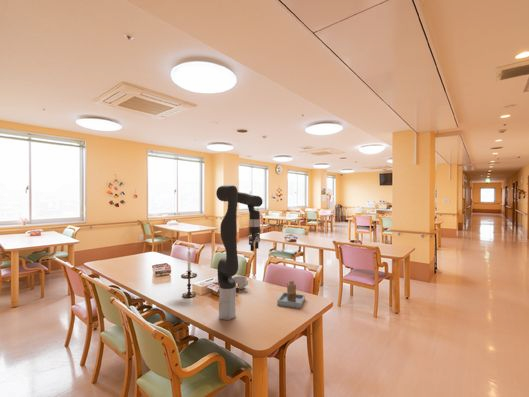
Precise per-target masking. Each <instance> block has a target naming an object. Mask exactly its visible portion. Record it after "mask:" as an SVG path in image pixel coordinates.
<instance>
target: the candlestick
mask: <svg viewBox="0 0 529 397" xmlns="http://www.w3.org/2000/svg"><path fill="white" fill-rule="evenodd" d="M187 248H188V251H187V270H186V272H185V273H182V274H181V275H180V278H181V279H184V280H187V284H186V286H187V291H186V292H184V293H183V294H182V296H181V297H182V298H184V299H192V298H195V297H196V292H194V291H191V288H192V287H191V286H192V283H191V279H195V278H197V277H198V274H197V272H192V271H193V270H191V261H192V260H191V250H190V246H188V247H187Z"/></svg>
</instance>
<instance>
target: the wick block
mask: <svg viewBox="0 0 529 397" xmlns="http://www.w3.org/2000/svg"><path fill="white" fill-rule="evenodd" d="M286 284H287V285H286V293H287V300H288V301H290V302H296V294H297V285H296V283H295V281H294V280H289V281H288V282H287V283H286Z"/></svg>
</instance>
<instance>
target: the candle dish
mask: <svg viewBox="0 0 529 397" xmlns="http://www.w3.org/2000/svg"><path fill="white" fill-rule="evenodd" d="M276 301H277V303H276V304H277V306H282V307H290V308H295V307H296V308H297V309H301V308H302V307H303V304H304V302H305V301H306V295H305V294H300V293H296V302H290V301H288V300H287V292H285V291H284V292H282V294H281V295H280V296H279V297H278V298H277V300H276Z"/></svg>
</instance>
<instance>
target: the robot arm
mask: <svg viewBox="0 0 529 397" xmlns="http://www.w3.org/2000/svg"><path fill="white" fill-rule="evenodd" d="M216 197H217V200H219V201H220V202H227V210H226V213H225V215H224V216H223V218H222V220H221V223H220V227H219V228H220V231H219V232H220V239H221V242H222V244H223V246H224V250H225V256H226V257H222V258H221V259H220V260H219V261H218V263H217V281H218V284H219V285H218V286H219V291H218V292H219V293H218V294H219V296H218V297H219V300H218V319H219V320H223V321H224V320H226V321H230V320H232V319H234V318H236V316H237V315H236V310H237V309H236V306H237V305H236V304H237V303H236V295H237V293H236V290H237V289H236V283H235V280H234V279H233V277H235V275H236V274H237V273H238V271H239V257H238V247H237V246H238V242H237V240H238V239H237V238H238V236H237V232H238V230H237V228H238V226H237V218H238V217H237V216H238V215H237V214H238V213H237V212H238V204H242V205H247V209H248V214H249V216H248V218H249V220H248V233H249V234H250V235H249V237H248V245H249V246H250V252H254V251H255V249H259V246H260V245H259V243H260V241H261V236H260V235H261V234H260V233H261V219H260V218H261V215H260V214H261V212H260V210H257V209H256V207H257V208H258V207H261V206H262V205H263V201H264V200H263V198H262V197H261V196H259V195H253V194H250V193H246V192H240V191H238V188H237V186H235V185H232V184H230V185H229V184H227V185H220V186H219V187H218V188H217V189H216Z"/></svg>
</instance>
